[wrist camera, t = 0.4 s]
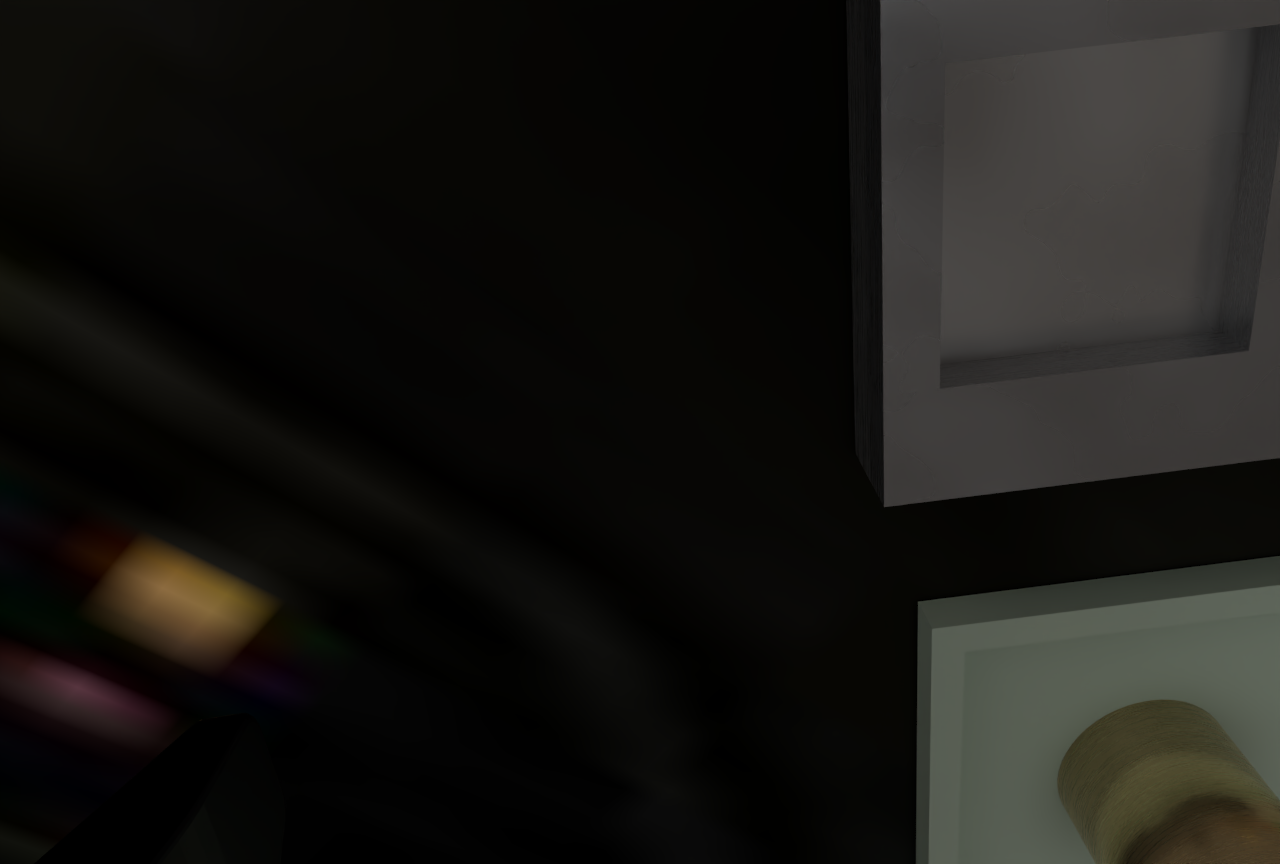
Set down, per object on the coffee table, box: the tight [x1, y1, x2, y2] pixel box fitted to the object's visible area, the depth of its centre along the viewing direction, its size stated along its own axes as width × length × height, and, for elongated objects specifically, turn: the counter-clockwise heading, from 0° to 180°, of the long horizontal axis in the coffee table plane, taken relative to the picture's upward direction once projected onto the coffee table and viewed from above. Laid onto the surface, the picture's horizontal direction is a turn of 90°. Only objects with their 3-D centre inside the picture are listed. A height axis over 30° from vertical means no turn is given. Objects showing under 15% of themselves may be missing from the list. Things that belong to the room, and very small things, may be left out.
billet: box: [1057, 700, 1280, 864], centre depth 24 cm, size 4×4×6 cm
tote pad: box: [916, 556, 1280, 864], centre depth 27 cm, size 10×10×1 cm
